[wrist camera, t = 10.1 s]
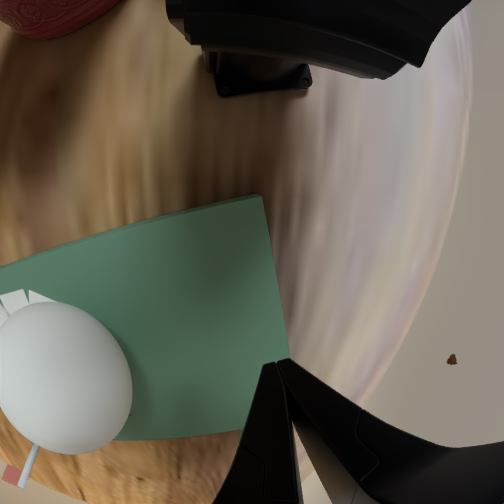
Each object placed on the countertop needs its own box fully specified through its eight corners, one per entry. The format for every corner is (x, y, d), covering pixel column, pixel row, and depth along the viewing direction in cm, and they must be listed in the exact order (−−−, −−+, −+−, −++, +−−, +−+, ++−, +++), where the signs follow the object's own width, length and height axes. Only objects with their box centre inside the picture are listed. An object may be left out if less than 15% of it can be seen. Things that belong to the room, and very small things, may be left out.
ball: (147, 309, 13) (-35, 283, 7) (158, 482, 10) (-9, 470, 5) (120, 310, 21) (10, 295, 15) (124, 422, 18) (16, 413, 13)
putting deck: (256, 193, 18) (327, 232, 7) (294, 401, 25) (331, 501, 13) (-39, 283, 16) (-105, 333, 5) (41, 422, 22) (14, 489, 11)
